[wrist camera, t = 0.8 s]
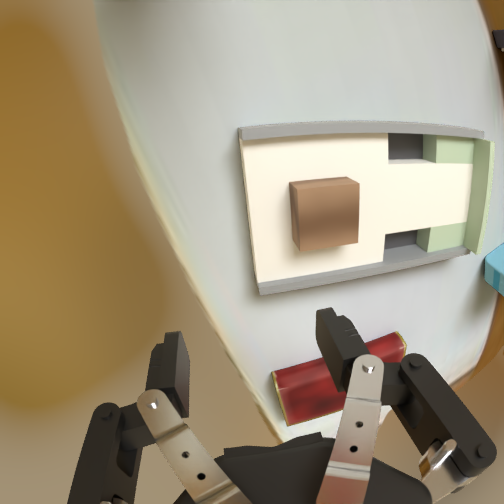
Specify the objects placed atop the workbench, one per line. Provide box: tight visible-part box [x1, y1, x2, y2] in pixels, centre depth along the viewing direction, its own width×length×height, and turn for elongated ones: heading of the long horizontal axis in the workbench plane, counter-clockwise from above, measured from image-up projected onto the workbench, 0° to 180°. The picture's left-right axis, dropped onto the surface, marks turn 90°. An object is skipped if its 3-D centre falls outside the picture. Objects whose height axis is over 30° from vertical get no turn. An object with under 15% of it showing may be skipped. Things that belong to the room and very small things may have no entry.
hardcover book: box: [272, 331, 407, 426], centre depth 45 cm, size 12×21×4 cm, turn 103°
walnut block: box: [289, 176, 360, 252], centre depth 29 cm, size 6×6×3 cm
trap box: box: [238, 121, 495, 296], centre depth 31 cm, size 17×30×6 cm, turn 96°
